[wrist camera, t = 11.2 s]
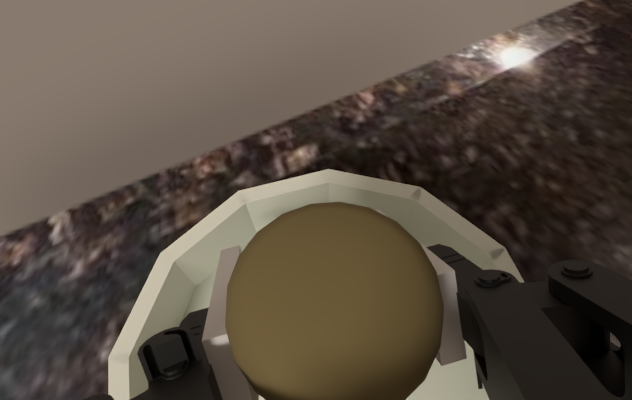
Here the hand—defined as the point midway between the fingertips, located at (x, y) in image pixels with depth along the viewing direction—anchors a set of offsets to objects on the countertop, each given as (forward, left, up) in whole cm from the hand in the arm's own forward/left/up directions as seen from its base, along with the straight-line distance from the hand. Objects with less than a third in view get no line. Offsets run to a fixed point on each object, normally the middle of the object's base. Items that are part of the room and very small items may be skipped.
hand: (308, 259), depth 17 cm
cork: (0, +4, -4) cm, 5 cm away
